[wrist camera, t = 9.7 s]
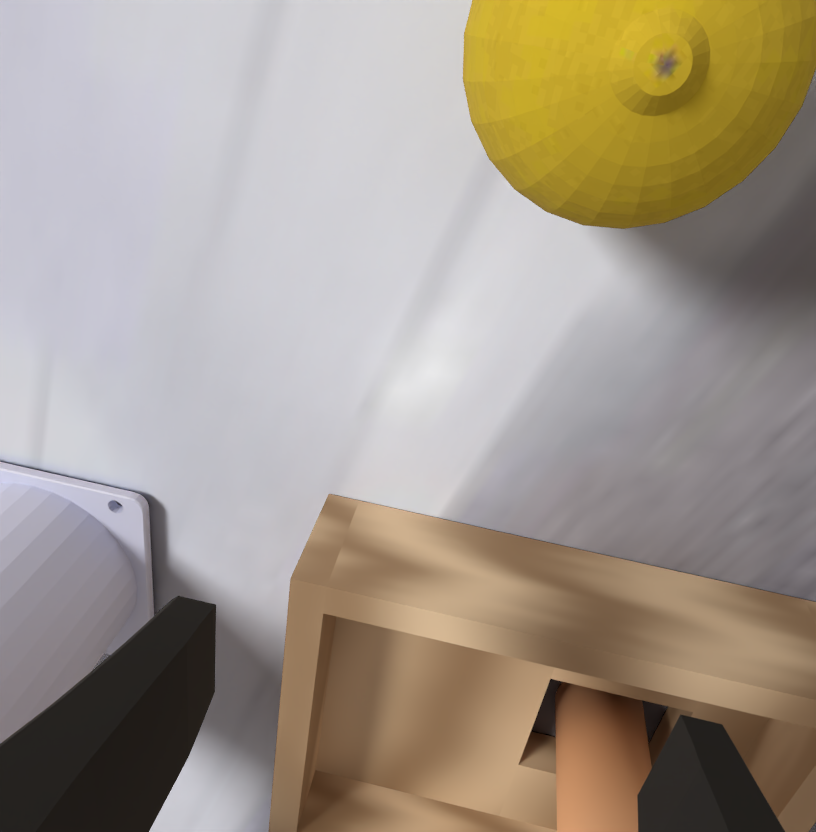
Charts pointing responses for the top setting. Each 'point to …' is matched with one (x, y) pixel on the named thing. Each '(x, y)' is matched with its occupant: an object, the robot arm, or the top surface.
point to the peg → (599, 759)
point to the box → (511, 673)
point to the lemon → (634, 98)
